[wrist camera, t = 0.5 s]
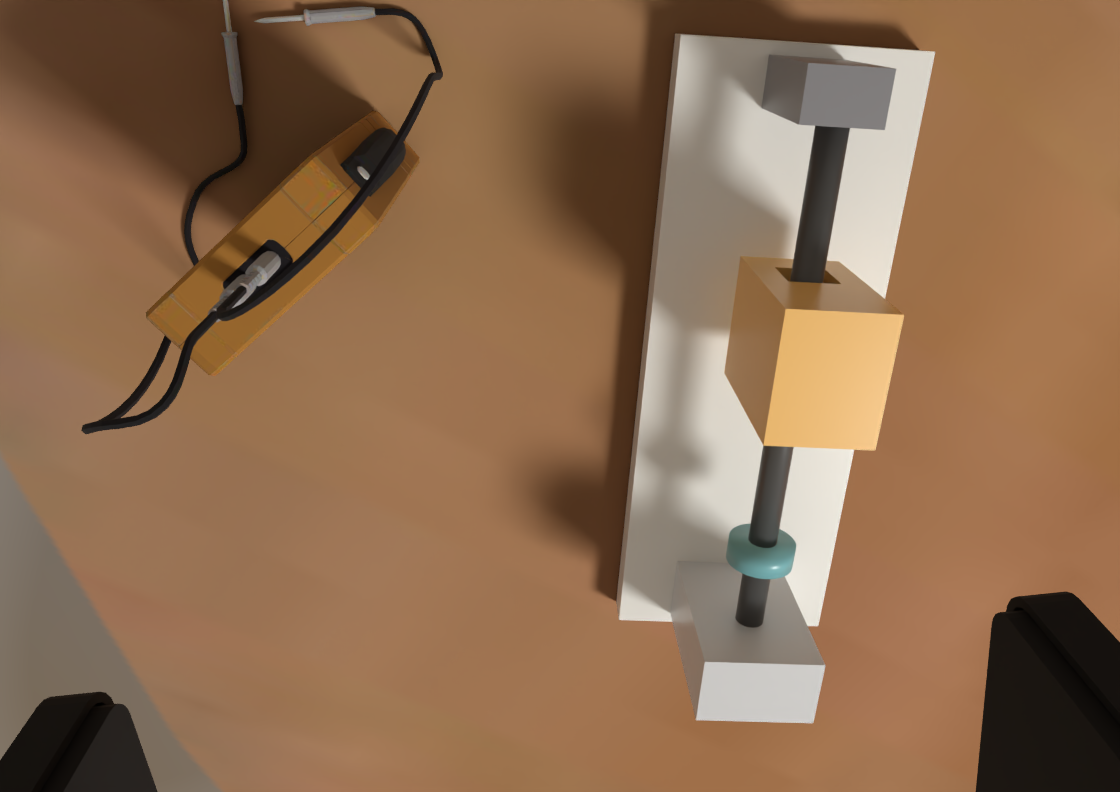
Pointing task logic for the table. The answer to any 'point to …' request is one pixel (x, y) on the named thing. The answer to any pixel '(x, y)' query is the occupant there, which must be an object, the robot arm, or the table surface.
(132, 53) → the table surface
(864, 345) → the sleeve
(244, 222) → the multimeter
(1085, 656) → the robot arm
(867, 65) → the board
